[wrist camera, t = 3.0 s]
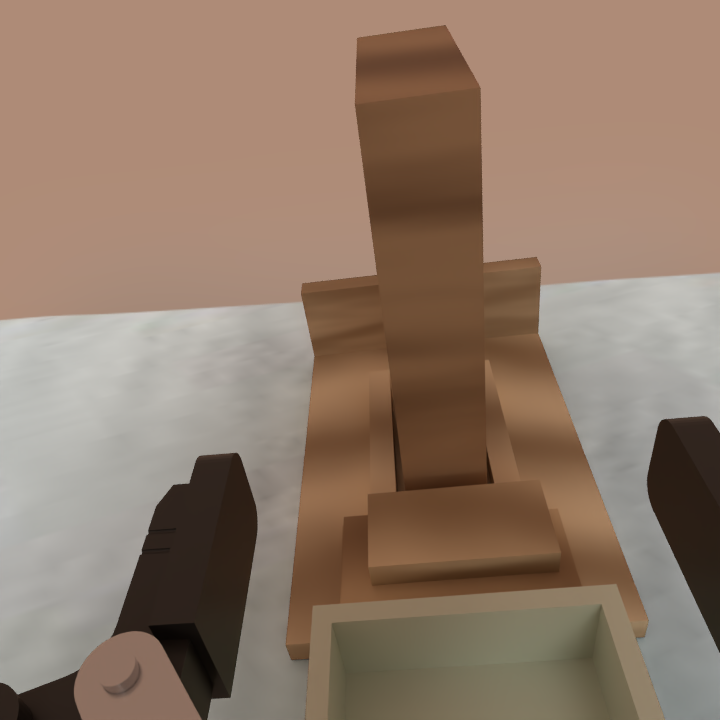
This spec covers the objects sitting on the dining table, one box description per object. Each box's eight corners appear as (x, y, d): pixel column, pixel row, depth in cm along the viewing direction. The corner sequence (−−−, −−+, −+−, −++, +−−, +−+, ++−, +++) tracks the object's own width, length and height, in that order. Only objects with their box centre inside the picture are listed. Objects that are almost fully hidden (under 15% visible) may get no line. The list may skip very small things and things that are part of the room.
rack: (644, 637, 21) (667, 544, 18) (291, 659, 22) (259, 575, 19) (533, 337, 35) (536, 257, 32) (318, 359, 36) (302, 283, 33)
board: (487, 520, 25) (480, 87, 15) (410, 526, 25) (355, 104, 15) (461, 388, 31) (445, 25, 22) (400, 394, 31) (357, 37, 22)
